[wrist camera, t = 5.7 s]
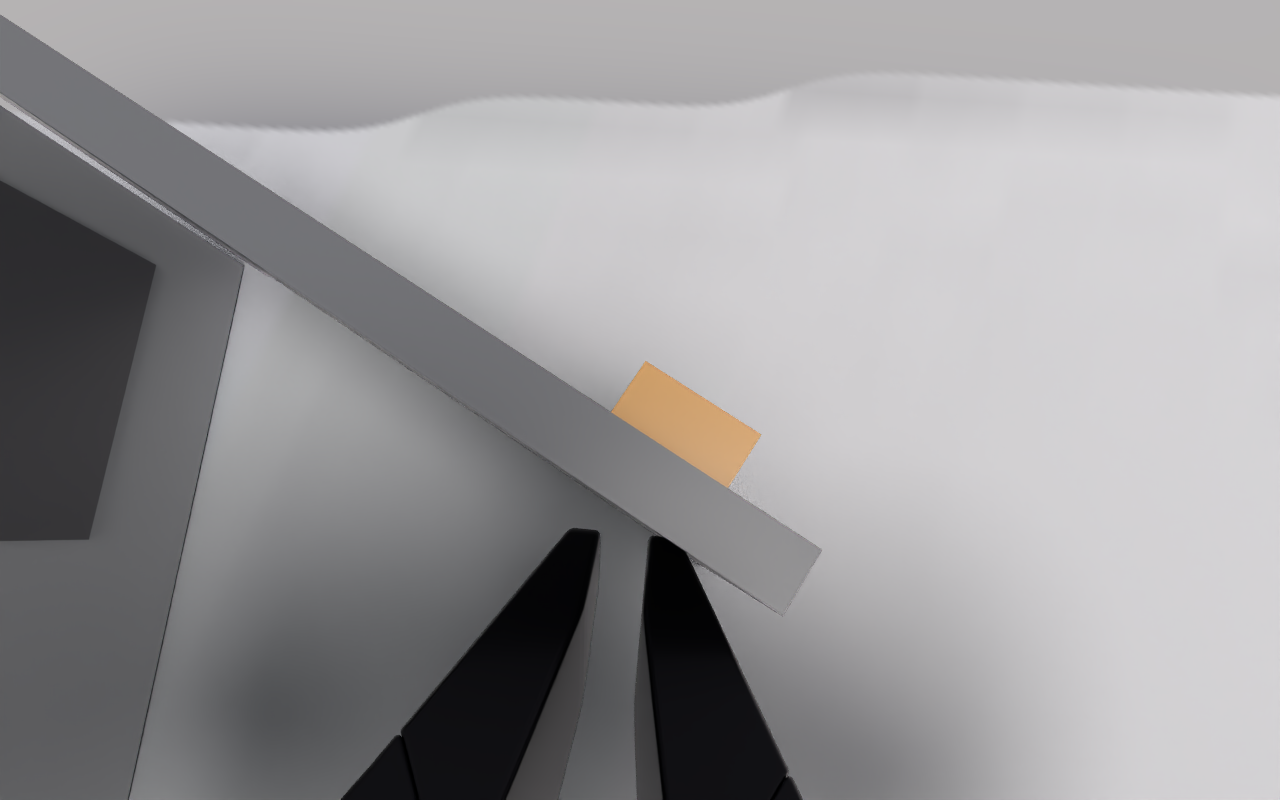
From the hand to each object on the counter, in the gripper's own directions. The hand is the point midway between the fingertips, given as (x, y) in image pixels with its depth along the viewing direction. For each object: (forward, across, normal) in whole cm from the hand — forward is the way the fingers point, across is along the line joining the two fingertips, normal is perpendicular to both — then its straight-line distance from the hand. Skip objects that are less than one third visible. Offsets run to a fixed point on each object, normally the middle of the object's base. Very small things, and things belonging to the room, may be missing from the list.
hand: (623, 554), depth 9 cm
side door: (+8, +4, +3) cm, 9 cm away
